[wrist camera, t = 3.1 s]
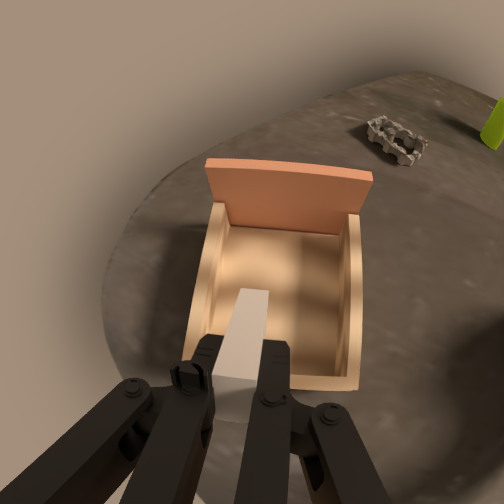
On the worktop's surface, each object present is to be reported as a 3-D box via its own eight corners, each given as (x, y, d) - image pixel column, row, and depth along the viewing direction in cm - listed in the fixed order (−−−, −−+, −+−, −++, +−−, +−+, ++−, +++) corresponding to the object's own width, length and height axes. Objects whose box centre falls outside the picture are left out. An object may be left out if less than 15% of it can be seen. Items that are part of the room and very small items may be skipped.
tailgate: (346, 238, 34) (373, 181, 24) (222, 227, 36) (204, 167, 25) (345, 230, 34) (371, 171, 24) (223, 219, 36) (207, 158, 26)
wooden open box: (339, 387, 27) (365, 390, 19) (198, 373, 29) (172, 371, 21) (344, 244, 35) (363, 204, 27) (223, 233, 36) (210, 191, 28)
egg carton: (423, 158, 42) (431, 143, 38) (403, 172, 40) (412, 156, 36) (382, 124, 46) (388, 108, 42) (360, 135, 44) (364, 118, 40)
